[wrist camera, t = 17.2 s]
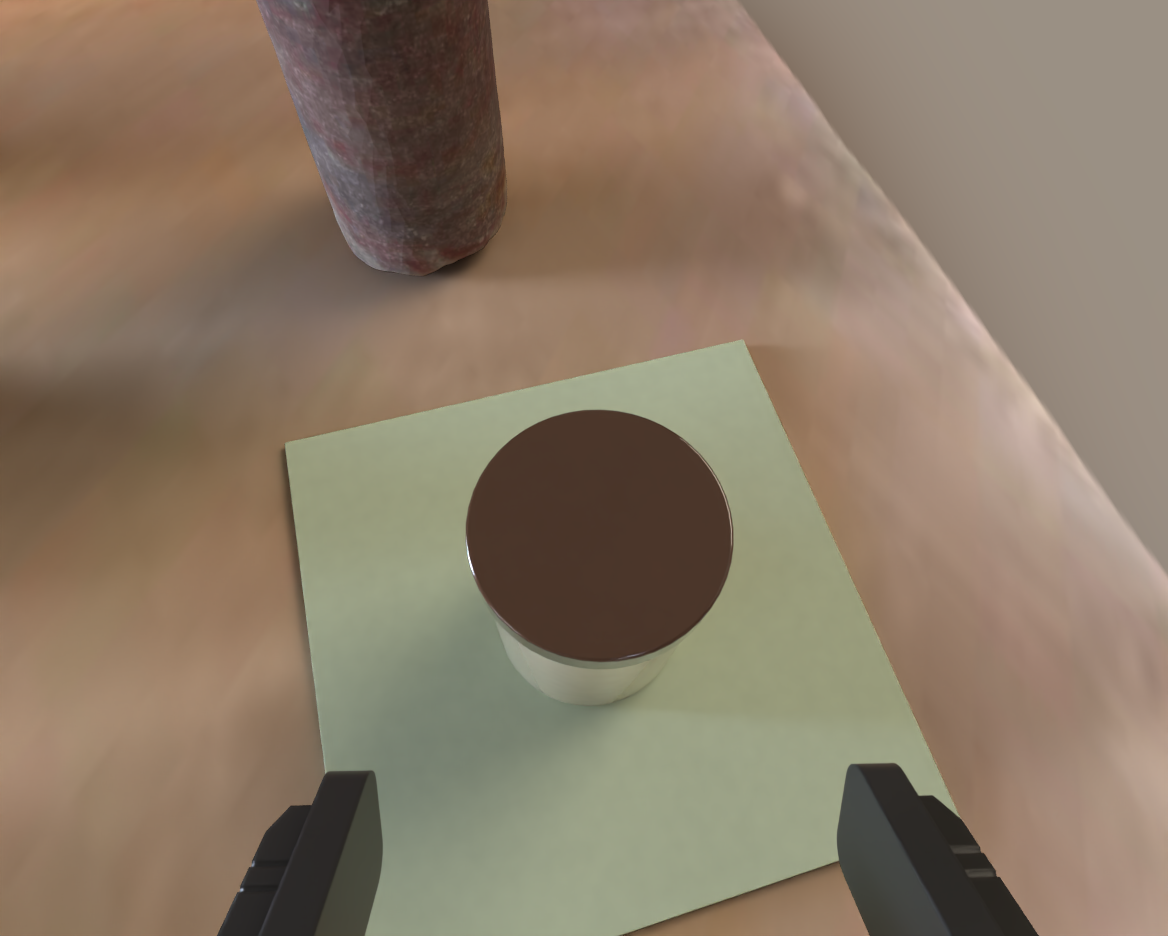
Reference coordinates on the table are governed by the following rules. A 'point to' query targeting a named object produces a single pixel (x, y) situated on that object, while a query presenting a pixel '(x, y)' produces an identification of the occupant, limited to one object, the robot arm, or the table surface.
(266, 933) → the robot arm
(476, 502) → the jar
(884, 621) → the table surface
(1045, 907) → the table surface
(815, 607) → the desk mat
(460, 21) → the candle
